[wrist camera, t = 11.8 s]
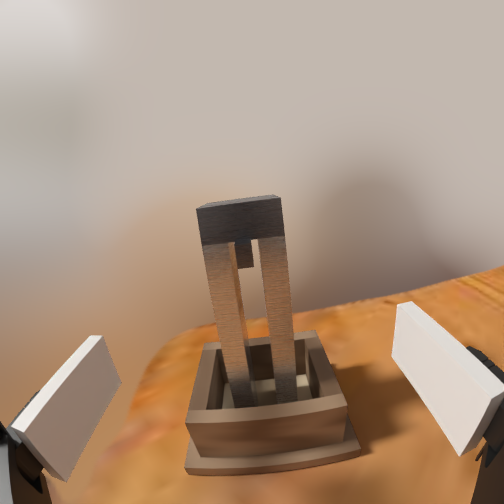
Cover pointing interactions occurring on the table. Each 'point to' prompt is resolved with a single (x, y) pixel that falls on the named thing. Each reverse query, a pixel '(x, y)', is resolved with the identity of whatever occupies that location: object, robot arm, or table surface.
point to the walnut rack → (268, 415)
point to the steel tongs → (229, 291)
